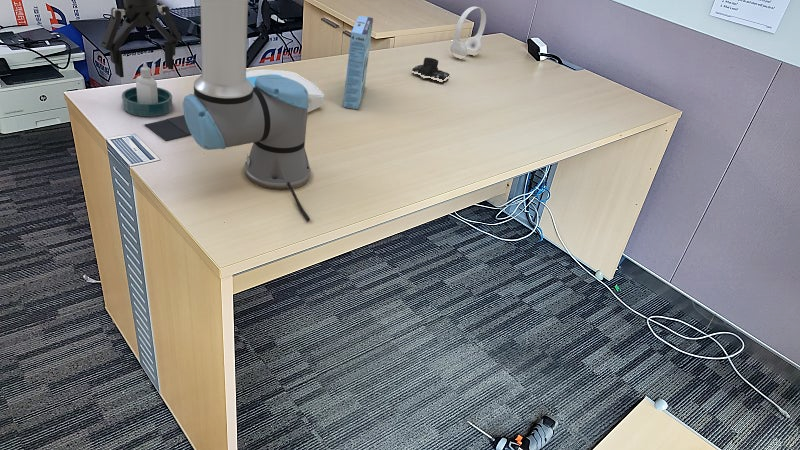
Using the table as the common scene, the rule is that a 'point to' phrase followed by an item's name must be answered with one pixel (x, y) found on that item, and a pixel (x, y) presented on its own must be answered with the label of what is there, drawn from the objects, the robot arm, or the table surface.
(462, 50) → the headphones
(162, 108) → the bowl
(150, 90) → the eye dropper bottle
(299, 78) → the document scanner
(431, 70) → the film camera
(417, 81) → the table surface
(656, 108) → the table surface
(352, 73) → the blue cardboard box
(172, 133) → the napkin
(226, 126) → the robot arm
